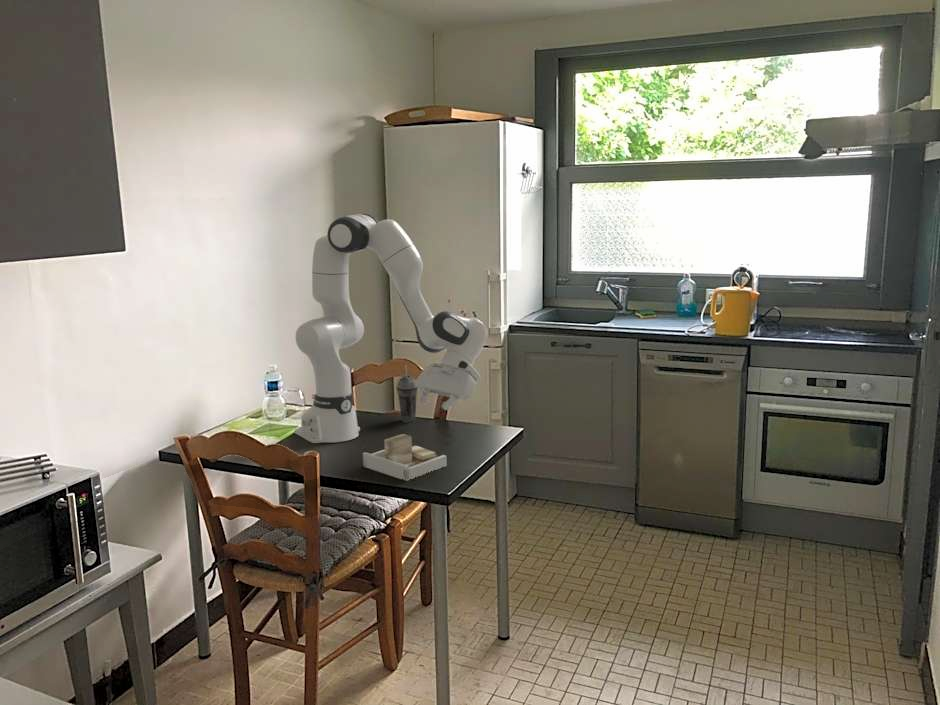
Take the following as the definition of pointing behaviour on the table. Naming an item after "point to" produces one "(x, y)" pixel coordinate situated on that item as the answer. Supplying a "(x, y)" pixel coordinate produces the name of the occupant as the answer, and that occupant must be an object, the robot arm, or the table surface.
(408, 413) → the beverage cup
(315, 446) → the table surface
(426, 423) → the table surface
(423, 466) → the tray
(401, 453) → the pale wooden block
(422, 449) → the offcut stack
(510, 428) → the table surface
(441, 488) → the table surface
